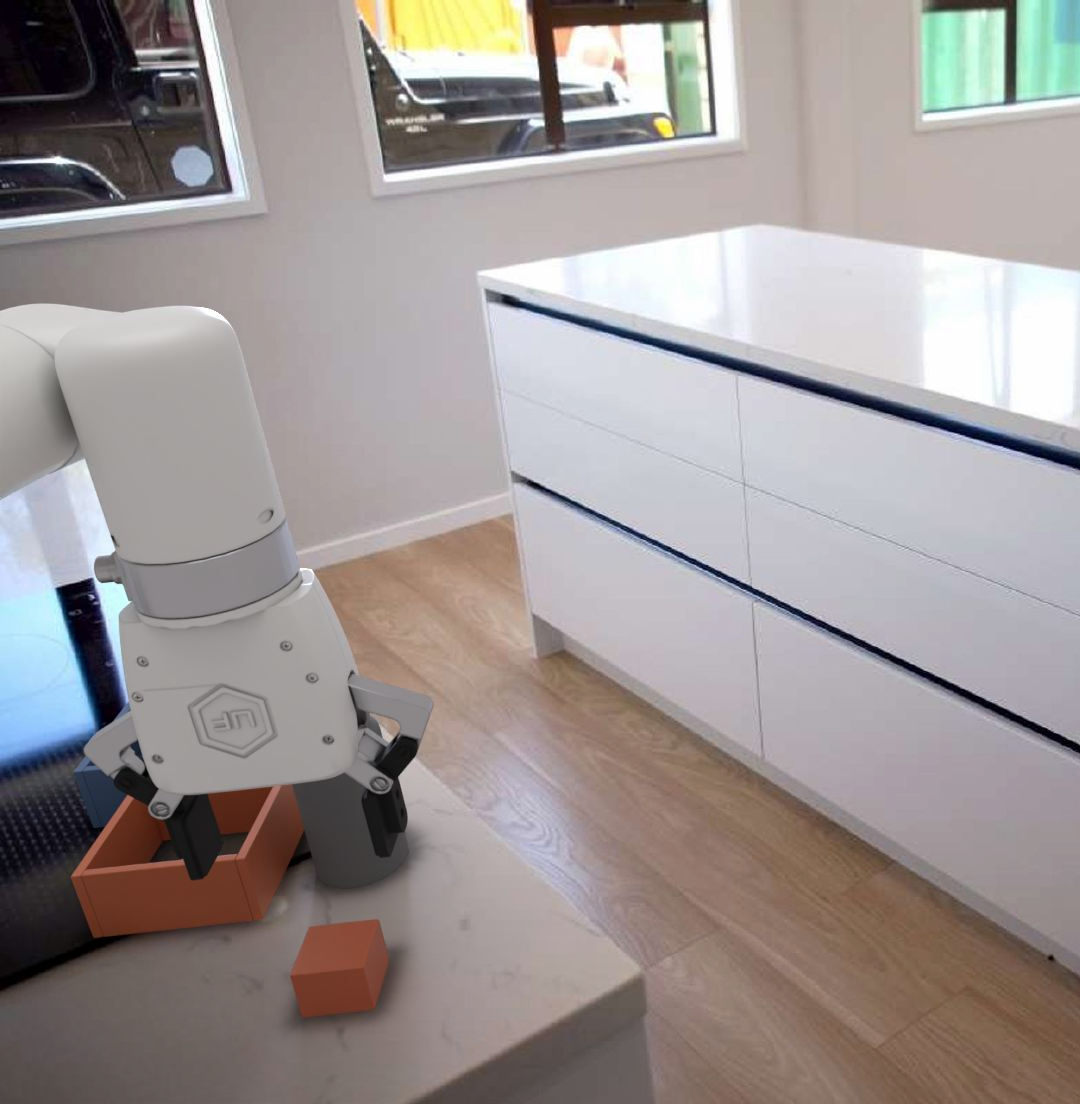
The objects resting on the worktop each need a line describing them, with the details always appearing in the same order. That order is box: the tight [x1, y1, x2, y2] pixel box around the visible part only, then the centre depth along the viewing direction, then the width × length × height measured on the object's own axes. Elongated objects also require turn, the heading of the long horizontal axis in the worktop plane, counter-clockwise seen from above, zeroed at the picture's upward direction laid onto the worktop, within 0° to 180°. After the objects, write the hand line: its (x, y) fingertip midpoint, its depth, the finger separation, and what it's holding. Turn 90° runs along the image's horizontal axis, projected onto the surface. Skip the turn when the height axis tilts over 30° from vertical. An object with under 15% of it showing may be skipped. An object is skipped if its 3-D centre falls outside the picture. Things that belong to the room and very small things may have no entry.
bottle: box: [292, 714, 410, 889], centre depth 80 cm, size 6×6×15 cm
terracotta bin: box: [70, 784, 305, 939], centre depth 81 cm, size 10×10×6 cm
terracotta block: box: [289, 918, 390, 1018], centre depth 72 cm, size 4×4×4 cm
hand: (299, 852), depth 68 cm, fingers open, 9 cm apart
